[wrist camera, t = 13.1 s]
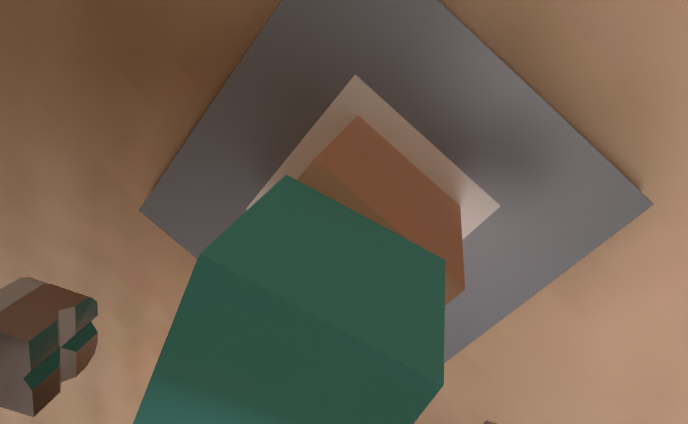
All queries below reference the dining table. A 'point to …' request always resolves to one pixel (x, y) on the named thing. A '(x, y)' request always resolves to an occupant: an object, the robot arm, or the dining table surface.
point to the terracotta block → (390, 195)
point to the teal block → (303, 322)
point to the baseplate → (404, 144)
